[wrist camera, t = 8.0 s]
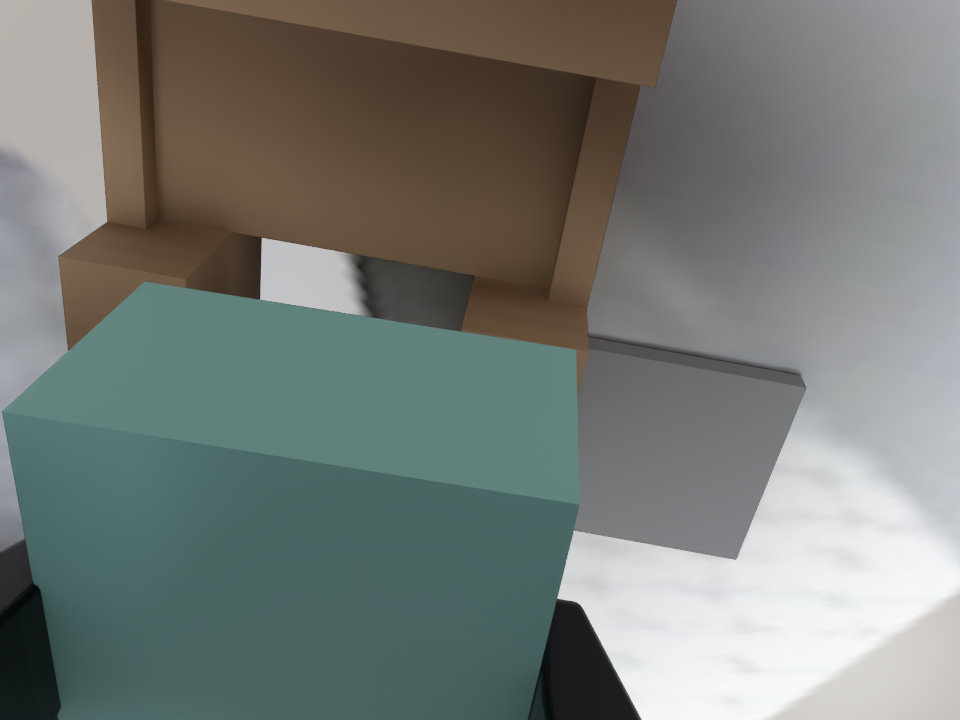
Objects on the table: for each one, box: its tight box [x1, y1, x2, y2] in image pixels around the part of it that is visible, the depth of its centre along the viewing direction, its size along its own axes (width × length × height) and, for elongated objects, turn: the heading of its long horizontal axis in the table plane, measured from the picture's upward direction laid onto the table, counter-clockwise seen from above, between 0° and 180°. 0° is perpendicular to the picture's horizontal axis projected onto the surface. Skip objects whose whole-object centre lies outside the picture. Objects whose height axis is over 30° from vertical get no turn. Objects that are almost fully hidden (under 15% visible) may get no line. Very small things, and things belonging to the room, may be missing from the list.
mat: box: [574, 337, 806, 560], centre depth 21 cm, size 6×6×1 cm
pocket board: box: [58, 0, 677, 398], centre depth 17 cm, size 14×10×4 cm
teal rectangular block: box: [2, 282, 580, 720], centre depth 9 cm, size 8×4×2 cm, turn 173°
